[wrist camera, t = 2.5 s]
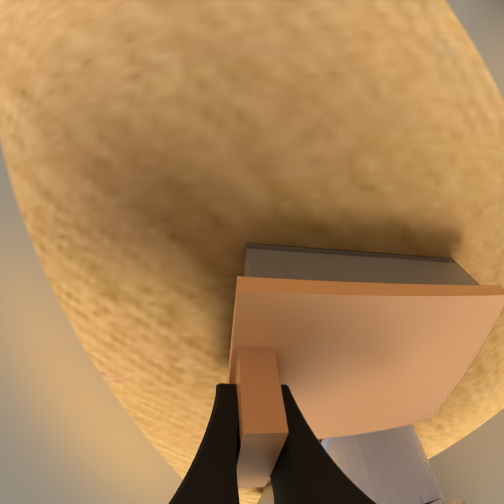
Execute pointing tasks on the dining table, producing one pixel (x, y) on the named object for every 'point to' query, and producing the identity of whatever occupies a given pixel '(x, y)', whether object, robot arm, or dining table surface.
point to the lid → (347, 357)
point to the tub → (350, 266)
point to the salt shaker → (267, 496)
